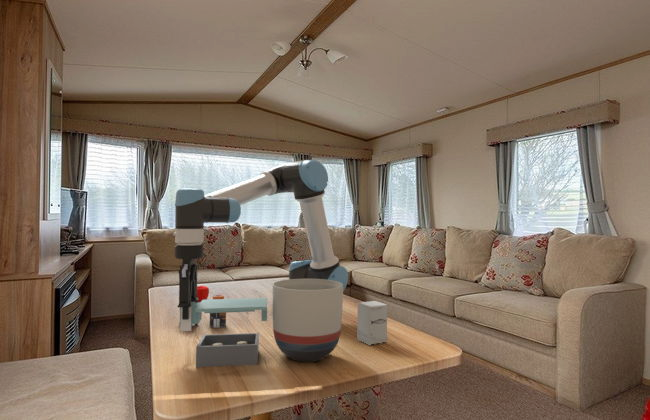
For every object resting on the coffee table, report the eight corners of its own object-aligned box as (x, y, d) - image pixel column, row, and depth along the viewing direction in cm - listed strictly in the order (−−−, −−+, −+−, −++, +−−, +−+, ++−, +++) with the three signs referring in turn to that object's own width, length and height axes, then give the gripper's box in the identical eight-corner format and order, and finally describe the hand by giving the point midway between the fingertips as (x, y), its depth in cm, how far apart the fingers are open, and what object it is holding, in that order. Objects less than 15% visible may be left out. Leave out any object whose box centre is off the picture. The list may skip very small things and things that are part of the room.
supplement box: (368, 346, 120) (369, 306, 121) (356, 339, 127) (356, 301, 127) (387, 343, 124) (388, 304, 124) (374, 336, 130) (375, 300, 131)
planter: (283, 376, 96) (285, 292, 96) (263, 351, 114) (264, 280, 115) (354, 365, 104) (355, 287, 105) (325, 343, 123) (325, 277, 123)
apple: (195, 300, 185) (195, 284, 185) (212, 301, 184) (212, 285, 184) (185, 304, 176) (186, 287, 176) (203, 305, 175) (204, 288, 175)
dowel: (247, 355, 108) (247, 341, 108) (246, 359, 105) (246, 344, 106) (237, 356, 108) (237, 341, 108) (236, 359, 105) (236, 344, 105)
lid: (267, 313, 114) (267, 297, 114) (266, 324, 102) (266, 306, 102) (186, 316, 110) (186, 300, 111) (176, 328, 99) (176, 309, 99)
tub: (258, 353, 113) (258, 333, 113) (257, 367, 102) (257, 344, 102) (203, 355, 110) (203, 334, 111) (195, 370, 99) (196, 347, 100)
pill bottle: (221, 328, 138) (221, 297, 138) (206, 327, 139) (207, 296, 140) (228, 324, 144) (229, 294, 144) (214, 323, 145) (215, 293, 145)
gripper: (182, 242, 114) (181, 320, 113) (166, 246, 96) (165, 338, 96) (208, 242, 115) (207, 319, 114) (197, 246, 97) (195, 337, 97)
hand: (188, 327), depth 105 cm, fingers closed on lid, 4 cm apart
